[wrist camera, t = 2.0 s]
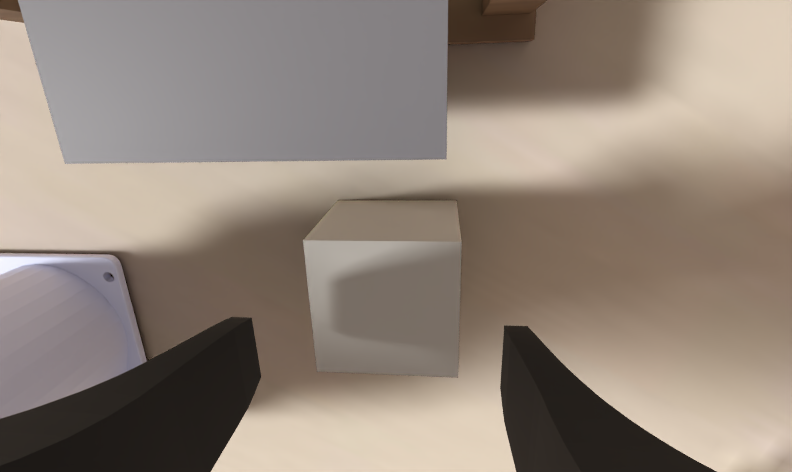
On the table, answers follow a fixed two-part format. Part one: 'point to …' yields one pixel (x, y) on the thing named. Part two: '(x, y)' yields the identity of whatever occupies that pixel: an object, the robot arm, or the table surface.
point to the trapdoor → (243, 79)
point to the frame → (467, 20)
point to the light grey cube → (386, 287)
